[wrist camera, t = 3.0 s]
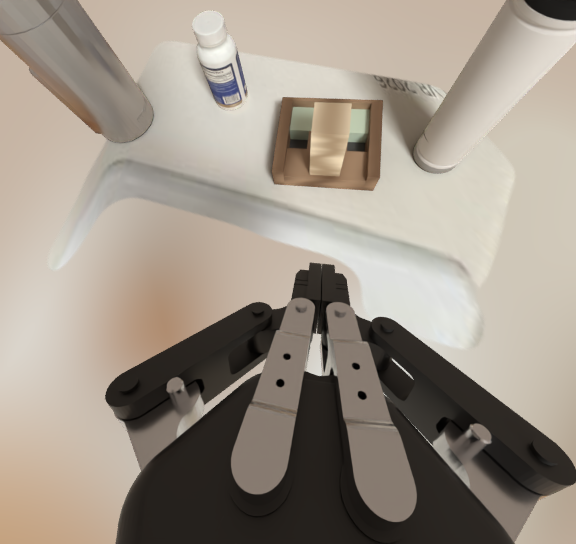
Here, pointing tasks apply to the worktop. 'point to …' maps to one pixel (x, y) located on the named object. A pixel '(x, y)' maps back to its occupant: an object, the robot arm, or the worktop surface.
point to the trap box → (358, 156)
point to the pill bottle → (220, 60)
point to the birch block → (329, 137)
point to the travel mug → (497, 78)
